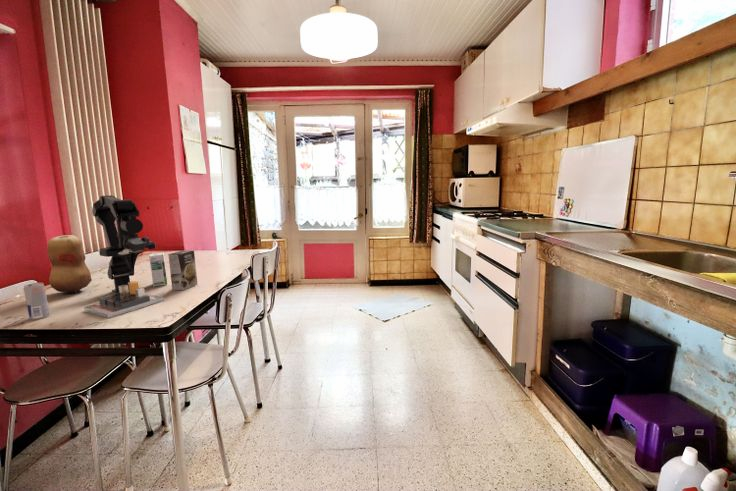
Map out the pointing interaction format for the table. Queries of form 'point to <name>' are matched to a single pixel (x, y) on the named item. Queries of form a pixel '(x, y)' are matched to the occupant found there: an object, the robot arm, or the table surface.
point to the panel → (122, 302)
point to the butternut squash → (67, 264)
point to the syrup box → (158, 269)
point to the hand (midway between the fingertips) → (131, 269)
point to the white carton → (36, 301)
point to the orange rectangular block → (133, 286)
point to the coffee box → (182, 270)
